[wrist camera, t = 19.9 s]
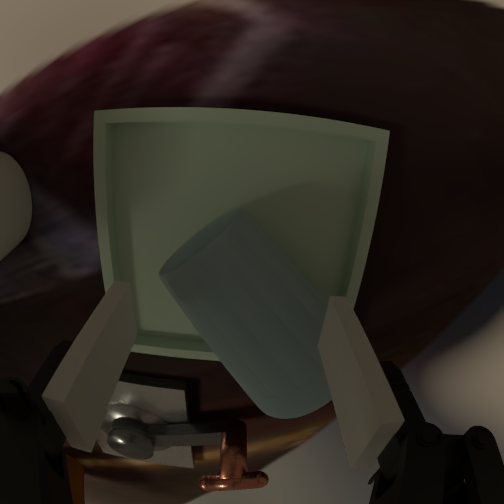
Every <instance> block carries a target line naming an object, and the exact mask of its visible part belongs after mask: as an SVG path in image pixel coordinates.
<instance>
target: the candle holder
mask: <svg viewBox="0 0 504 504" xmlns="http://www.w3.org/2000/svg"><path fill="white" fill-rule="evenodd" d="M31 218H32V197H31V191H30V187H29V184H28V181H27V178H26V176H25V174H24V172H23V170H22V168H21V167H20V165H19V164H18V163H17V161H16V160H15V159H14V158H13V157H11V156H10V155H8V154H7V153H4V152H1V151H0V261H1V260H2V259H3V258H4V257H5V256H7V255H8V254H9V253H10V252H11V251H12V250H13V249H14V248H15V247H17V246H18V245H19V244H20V243H21V241H22V240H23V239H24V238H25V236H26V234H27V232H28V230H29V227H30V223H31Z"/></svg>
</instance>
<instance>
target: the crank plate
mask: <svg viewBox="0 0 504 504" xmlns="http://www.w3.org/2000/svg"><path fill="white" fill-rule="evenodd" d="M120 417H127V418H133V419H136V420H139V421H142V422H144V423H146V424H147V425H169V424H189V423H190V417H189V407H188V397H187V386H186V381H183V380H174V379H165V378H157V377H150V376H143V375H136V374H130V373H123V372H122V373H121V375H120V378H119V380H118V383H117V385H116V388H115V390H114V393H113V395H112V398H111V401H110V403H109V406H108V408H107V411H106V414H105V416H104V419H103V422H102V425H101V427H100V430H99V433H98V436H97V438H96V440H97V442H98V443H99V445H100V447H101V449H102V451H103V452H104V453H108V454H112V455H116V456H121V457H125V458H129V457H126V456H124V455H121V454H119V453H118V452H116V451H114V450H113V449H112V448H111V447H110V446H109V445H108V443H107V438H108V435H109V432H110V429H111V426H112V423H113V421H114V420H115V419H116V418H120ZM130 459H133V458H130ZM135 460H139V459H135ZM140 461H146V462H151V463H157V464H164V465H171V466H179V467H187V468H194V462H195V459H194V452H193V446H174V447H155V448H154V453H153V456H152V457H151V458H150V459H146V460H140Z"/></svg>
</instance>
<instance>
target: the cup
mask: <svg viewBox="0 0 504 504" xmlns="http://www.w3.org/2000/svg"><path fill="white" fill-rule="evenodd" d="M159 277H160V279H161V281H162V282H163V284H164V285H165V287H166V288H167V290H168V291H169V293H170V294H171V295H172V297H173V298H174V300H175V301H176V302H177V304H178V305H179V307H180V308H181V309H182V311H183V312H184V314H185V315H186V316H187V318H188V319H189V320H190V322H191V323H192V324H193V326H194V327H195V329H196V330H197V331H198V333H199V334H200V335H201V337H202V338H203V339H204V341H205V342H206V343H207V344H208V346H209V347H210V348H211V350H212V351H213V352H214V354H215V355H216V356H217V357H218V359H219V360H220V361H221V362H222V364H223V365H224V366H225V367H226V369H227V370H228V371H229V372H230V374H231V375H232V376H233V377H234V379H235V380H236V381H237V382H238V383H239V385H240V386H241V387H242V388H243V390H244V391H245V392H246V393H247V394H248V396H249V397H250V398H251V399H252V400H253V402H254V403H255V404H256V405H257V406H258V407H259V409H260V410H261V411H263V412H264V413H265V414H267V415H269V416H272V417H275V418H282V419H289V418H296V417H300V416H303V415H306V414H309V413H311V412H313V411H315V410H317V409H319V408H321V407H322V406H324V405H325V404H327V403H328V402H330V401H331V400H332V397H331V393H330V389H329V386H328V382H327V378H326V375H325V371H324V367H323V364H322V360H321V356H320V353H319V349H318V343H319V339H320V335H321V331H322V327H323V323H324V319H325V315H326V311H327V307H328V302H327V301H326V300H325V299H324V297H323V296H322V295H321V294H320V293H319V292H318V291H317V289H316V288H315V287H314V286H313V285H312V284H311V283H310V282H309V280H308V279H307V278H306V277H305V276H304V275H303V274H302V273H301V271H300V270H299V269H298V268H297V267H296V266H295V265H294V264H293V262H292V261H291V260H290V259H289V258H288V257H287V256H286V255H285V254H284V252H283V251H282V250H281V249H280V248H279V247H278V246H277V245H276V244H275V242H274V241H273V240H272V239H271V238H270V237H269V236H268V235H267V234H266V233H265V231H264V230H263V229H262V228H261V227H260V226H259V225H258V224H257V223H256V222H255V221H254V219H253V218H252V217H251V216H250V215H249V214H248V213H247V212H246V211H245V210H244V209H242V208H237V209H233V210H231V211H229V212H227V213H226V214H224V215H222V216H220V217H219V218H217V219H216V220H214V221H213V222H211V223H210V224H208V225H207V226H205V227H204V228H203V229H201V230H200V231H199V232H197V233H196V234H195V235H194V236H192V237H191V238H190V239H189V240H188V241H186V242H185V243H184V244H183V245H182V246H181V247H180V248H179V249H178V250H176V251H175V252H174V253H173V255H172V256H171V257H170V258H169V259H168V260H167V261H166V262H165V263H164V265H163V266H162V267H161V269H160V271H159Z"/></svg>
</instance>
